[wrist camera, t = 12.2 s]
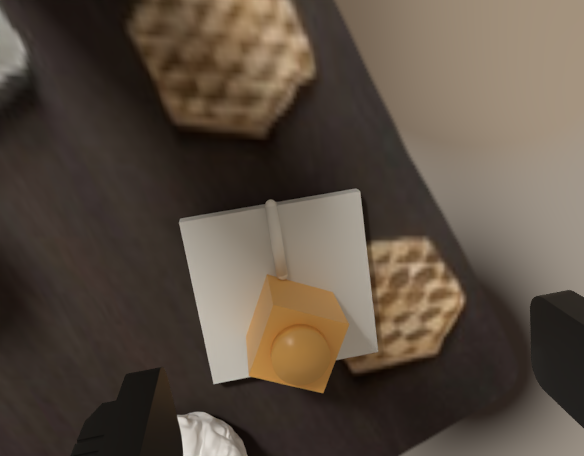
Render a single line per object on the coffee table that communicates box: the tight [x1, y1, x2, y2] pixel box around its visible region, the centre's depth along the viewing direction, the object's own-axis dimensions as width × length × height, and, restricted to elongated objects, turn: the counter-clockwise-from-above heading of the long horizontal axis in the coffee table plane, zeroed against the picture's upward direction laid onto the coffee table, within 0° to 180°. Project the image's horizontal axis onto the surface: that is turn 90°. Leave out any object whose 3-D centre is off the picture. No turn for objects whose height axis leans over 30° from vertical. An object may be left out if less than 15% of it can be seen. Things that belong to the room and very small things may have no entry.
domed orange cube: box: [246, 274, 349, 393], centre depth 39 cm, size 6×6×7 cm
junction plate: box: [179, 188, 378, 384], centre depth 40 cm, size 15×14×6 cm
